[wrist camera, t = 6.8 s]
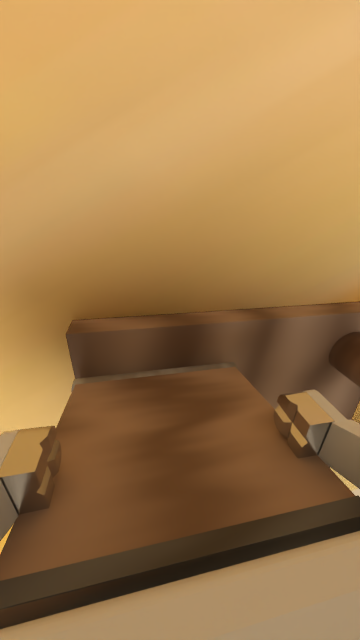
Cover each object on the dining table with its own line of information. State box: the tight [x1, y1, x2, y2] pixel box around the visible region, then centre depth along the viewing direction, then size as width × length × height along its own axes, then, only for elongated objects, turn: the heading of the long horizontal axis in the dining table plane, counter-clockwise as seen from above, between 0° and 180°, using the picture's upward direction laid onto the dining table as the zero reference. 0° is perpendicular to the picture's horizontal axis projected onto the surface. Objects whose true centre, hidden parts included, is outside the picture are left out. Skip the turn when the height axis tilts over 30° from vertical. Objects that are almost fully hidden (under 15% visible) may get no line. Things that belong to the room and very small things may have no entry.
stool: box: [66, 302, 360, 468], centre depth 18 cm, size 25×25×14 cm
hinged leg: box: [0, 362, 360, 629], centre depth 11 cm, size 10×2×11 cm, turn 89°
